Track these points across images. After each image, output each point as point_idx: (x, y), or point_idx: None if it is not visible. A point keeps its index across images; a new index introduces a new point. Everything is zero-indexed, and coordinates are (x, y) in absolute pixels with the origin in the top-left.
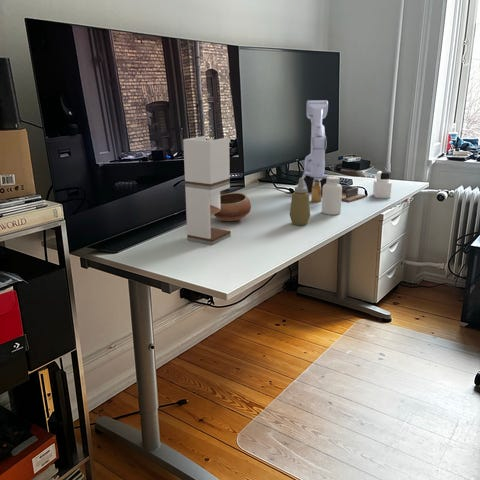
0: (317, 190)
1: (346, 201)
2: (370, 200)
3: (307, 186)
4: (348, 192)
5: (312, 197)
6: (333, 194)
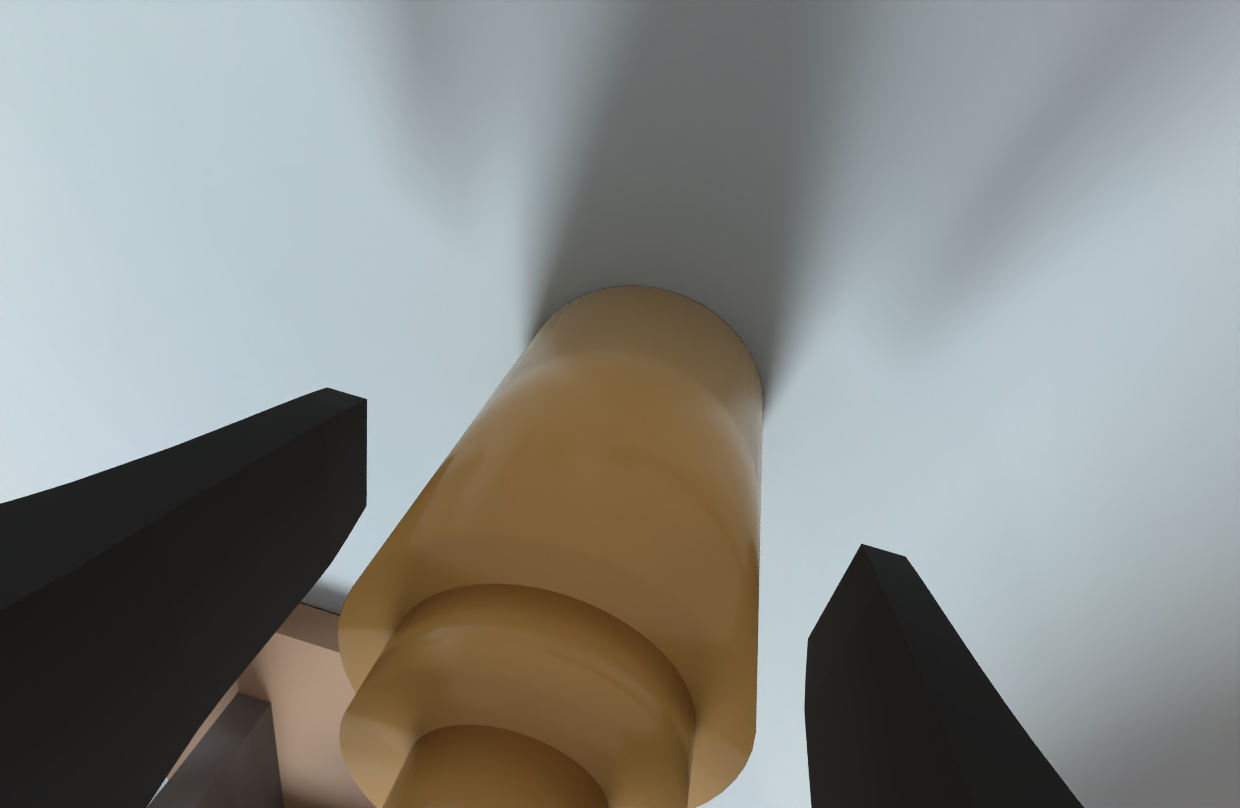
0: (436, 491)
1: None
2: None
3: (997, 742)
4: (175, 786)
5: (684, 355)
6: None
